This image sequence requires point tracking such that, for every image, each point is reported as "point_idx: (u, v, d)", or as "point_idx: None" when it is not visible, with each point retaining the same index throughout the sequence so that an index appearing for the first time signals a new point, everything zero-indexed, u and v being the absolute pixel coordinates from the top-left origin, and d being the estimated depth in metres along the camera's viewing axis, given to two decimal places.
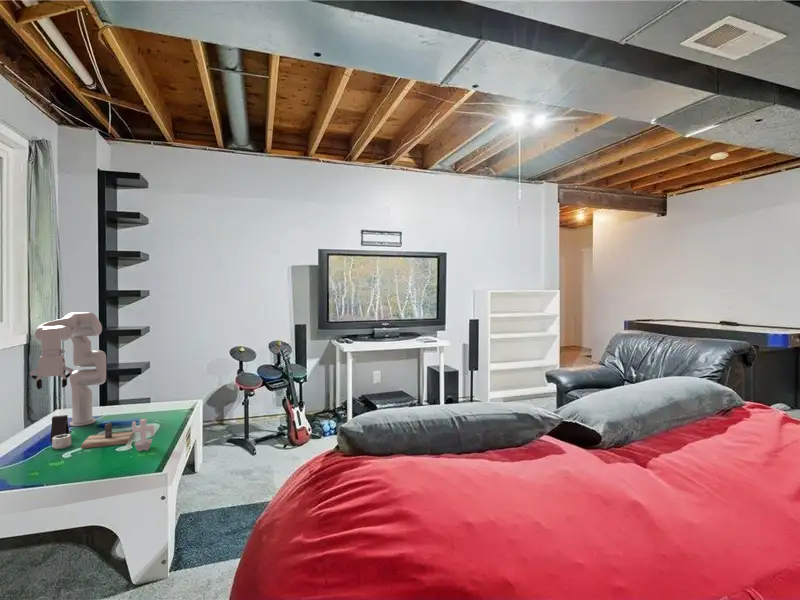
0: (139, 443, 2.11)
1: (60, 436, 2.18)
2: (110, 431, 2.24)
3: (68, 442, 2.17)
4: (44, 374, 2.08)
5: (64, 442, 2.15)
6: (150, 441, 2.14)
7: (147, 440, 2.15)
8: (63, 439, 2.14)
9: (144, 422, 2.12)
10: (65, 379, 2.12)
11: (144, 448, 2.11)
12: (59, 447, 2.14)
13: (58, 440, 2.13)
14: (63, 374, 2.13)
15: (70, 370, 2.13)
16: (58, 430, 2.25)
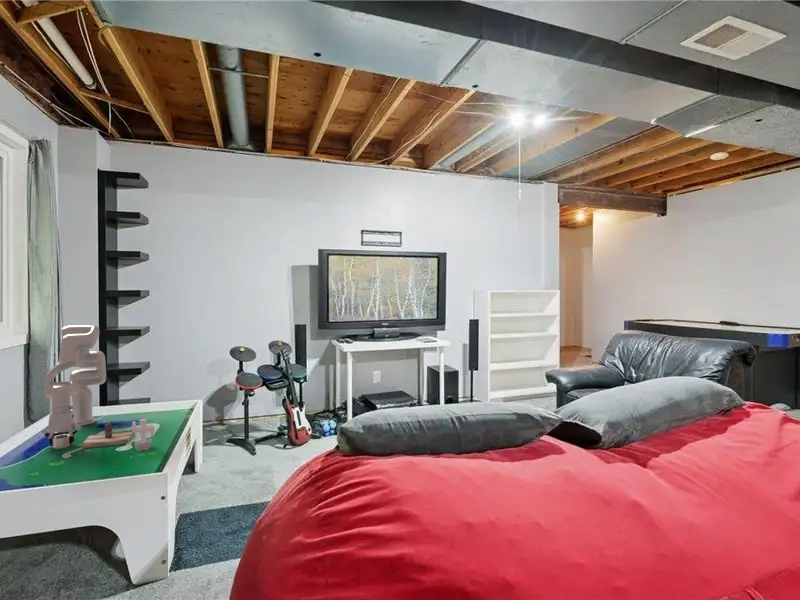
0: (139, 443, 2.11)
1: (60, 436, 2.18)
2: (110, 431, 2.24)
3: (68, 442, 2.17)
4: (54, 431, 2.14)
5: (64, 442, 2.15)
6: (150, 441, 2.14)
7: (147, 440, 2.15)
8: (63, 439, 2.14)
9: (144, 422, 2.12)
10: (72, 436, 2.18)
11: (144, 448, 2.11)
12: (59, 447, 2.14)
13: (58, 440, 2.13)
14: None
15: (78, 427, 2.19)
16: None
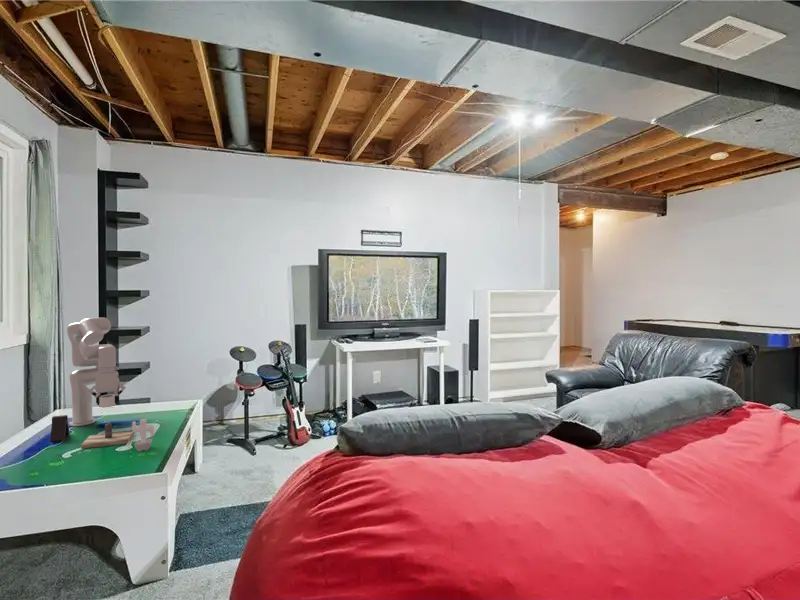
0: (139, 443, 2.11)
1: (106, 396, 2.25)
2: (110, 431, 2.24)
3: (114, 401, 2.23)
4: (101, 390, 2.21)
5: (110, 401, 2.21)
6: (150, 441, 2.14)
7: (147, 440, 2.15)
8: (109, 398, 2.21)
9: (144, 422, 2.12)
10: (117, 396, 2.24)
11: (144, 448, 2.11)
12: (105, 406, 2.20)
13: (105, 399, 2.20)
14: None
15: (123, 387, 2.25)
16: (58, 430, 2.25)
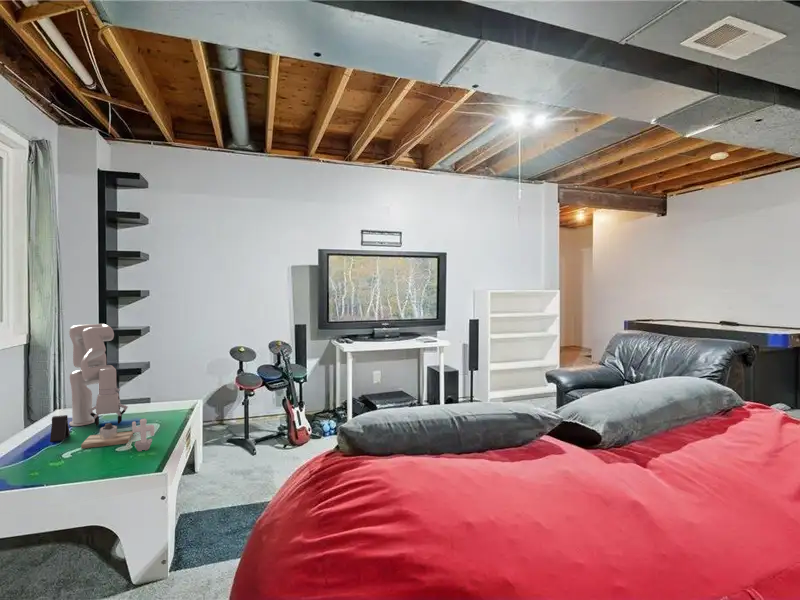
0: (139, 443, 2.11)
1: None
2: None
3: (114, 433, 2.24)
4: (102, 412, 2.21)
5: (111, 433, 2.22)
6: (150, 441, 2.14)
7: (147, 440, 2.15)
8: (110, 430, 2.22)
9: (144, 422, 2.12)
10: (120, 416, 2.25)
11: (144, 448, 2.11)
12: (106, 438, 2.21)
13: (105, 431, 2.21)
14: None
15: (125, 407, 2.26)
16: (58, 430, 2.25)
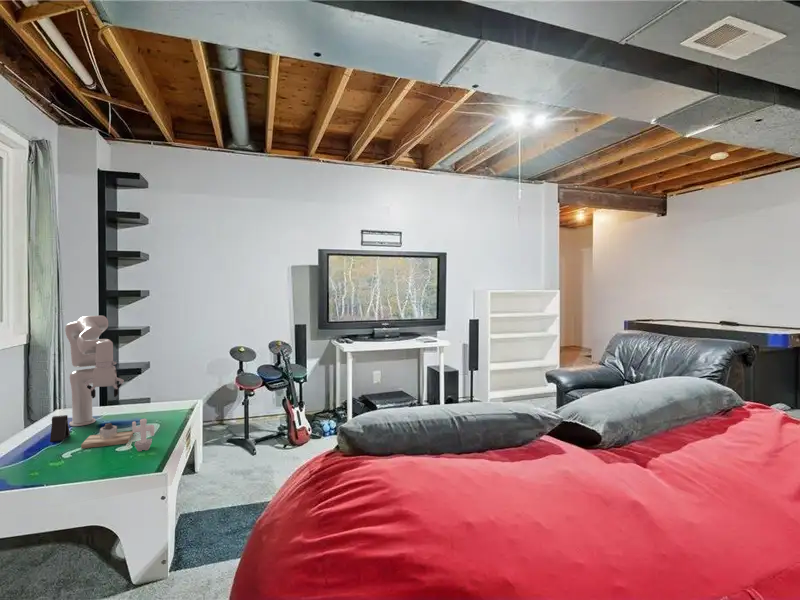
0: (139, 443, 2.11)
1: None
2: None
3: (114, 433, 2.24)
4: (98, 384, 2.23)
5: (111, 433, 2.22)
6: (150, 441, 2.14)
7: (147, 440, 2.15)
8: (110, 430, 2.22)
9: (144, 422, 2.12)
10: (117, 389, 2.27)
11: (144, 448, 2.11)
12: (106, 438, 2.21)
13: (105, 431, 2.21)
14: None
15: (121, 380, 2.28)
16: (58, 430, 2.25)
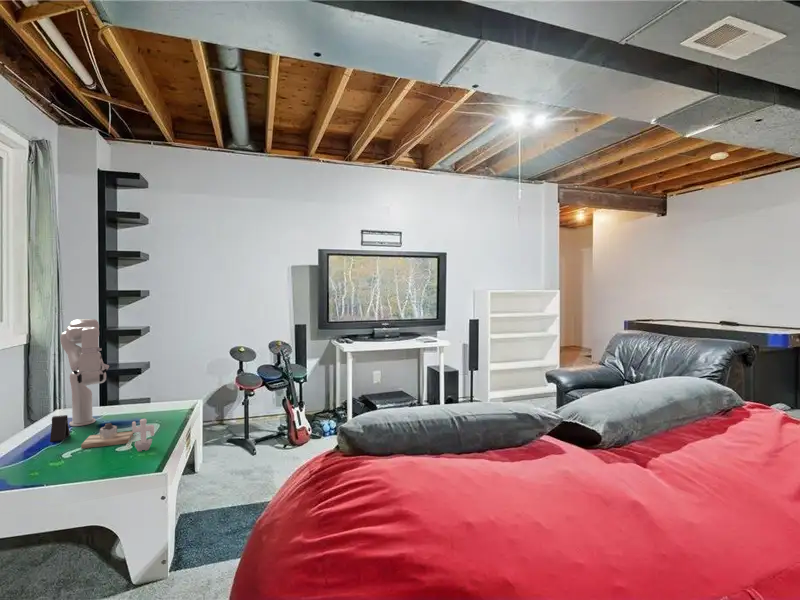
0: (139, 443, 2.11)
1: None
2: None
3: (114, 433, 2.24)
4: (84, 370, 2.33)
5: (111, 433, 2.22)
6: (150, 441, 2.14)
7: (147, 440, 2.15)
8: (110, 430, 2.22)
9: (144, 422, 2.12)
10: (102, 374, 2.37)
11: (144, 448, 2.11)
12: (106, 438, 2.21)
13: (105, 431, 2.21)
14: None
15: (106, 366, 2.38)
16: (58, 430, 2.25)
